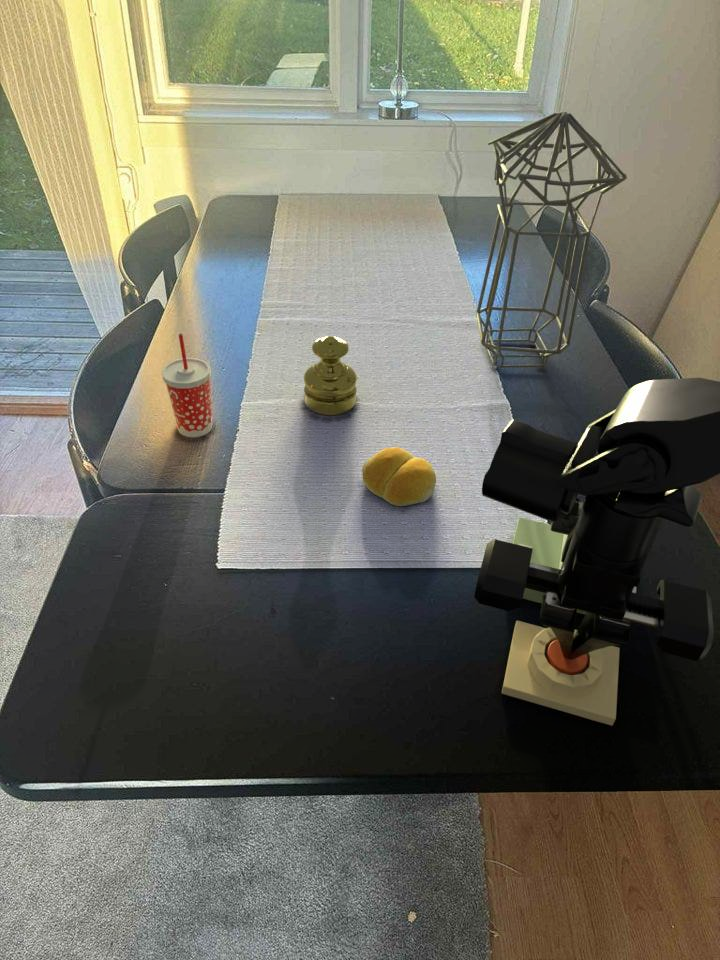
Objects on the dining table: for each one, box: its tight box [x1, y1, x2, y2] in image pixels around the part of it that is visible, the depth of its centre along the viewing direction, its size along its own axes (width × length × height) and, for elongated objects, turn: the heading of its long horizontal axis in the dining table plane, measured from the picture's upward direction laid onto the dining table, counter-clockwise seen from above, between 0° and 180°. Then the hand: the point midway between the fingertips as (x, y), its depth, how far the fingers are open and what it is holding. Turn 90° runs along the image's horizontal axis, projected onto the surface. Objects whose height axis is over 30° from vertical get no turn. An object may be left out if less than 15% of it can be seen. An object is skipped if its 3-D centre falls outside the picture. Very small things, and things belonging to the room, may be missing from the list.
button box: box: [501, 620, 621, 727], centre depth 66 cm, size 10×8×3 cm
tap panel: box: [512, 516, 587, 616], centre depth 75 cm, size 12×11×3 cm
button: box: [545, 639, 588, 675], centre depth 65 cm, size 4×4×2 cm
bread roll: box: [361, 446, 437, 507], centre depth 85 cm, size 8×9×4 cm
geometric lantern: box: [475, 111, 628, 369], centre depth 99 cm, size 16×16×35 cm
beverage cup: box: [161, 333, 214, 438], centre depth 90 cm, size 6×6×14 cm
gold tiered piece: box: [303, 335, 358, 416], centre depth 96 cm, size 7×7×10 cm
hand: (568, 654), depth 64 cm, fingers closed, pressing on button
